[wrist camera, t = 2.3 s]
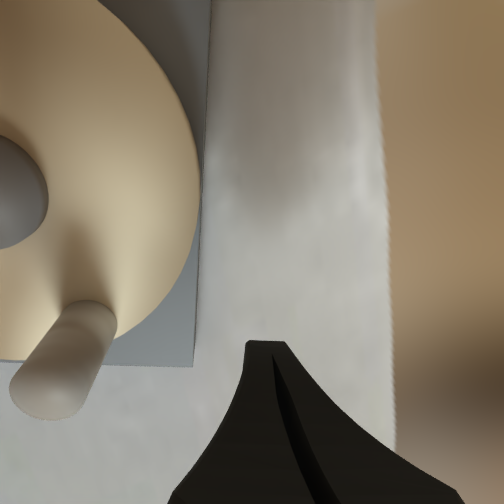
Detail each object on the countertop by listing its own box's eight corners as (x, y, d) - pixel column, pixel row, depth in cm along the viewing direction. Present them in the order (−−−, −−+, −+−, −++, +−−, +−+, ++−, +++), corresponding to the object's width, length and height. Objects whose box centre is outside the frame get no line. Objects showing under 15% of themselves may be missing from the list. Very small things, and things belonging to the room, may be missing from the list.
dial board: (-120, 336, 16) (-187, 382, 14) (-270, -128, 11) (-437, -207, 8) (194, 347, 18) (190, 389, 15) (214, -54, 12) (212, -99, 9)
